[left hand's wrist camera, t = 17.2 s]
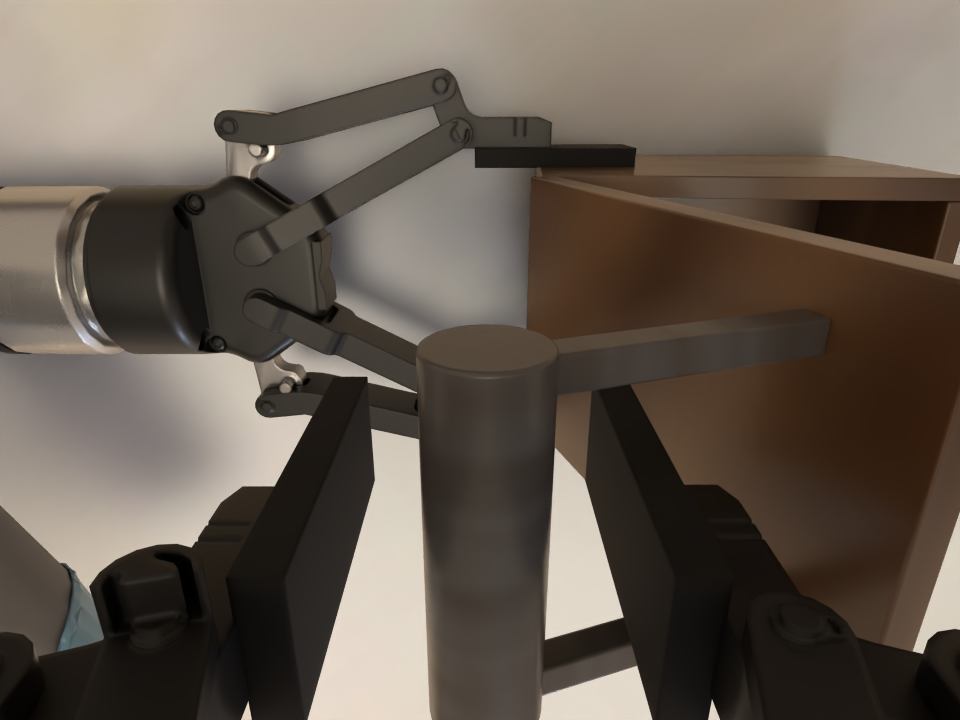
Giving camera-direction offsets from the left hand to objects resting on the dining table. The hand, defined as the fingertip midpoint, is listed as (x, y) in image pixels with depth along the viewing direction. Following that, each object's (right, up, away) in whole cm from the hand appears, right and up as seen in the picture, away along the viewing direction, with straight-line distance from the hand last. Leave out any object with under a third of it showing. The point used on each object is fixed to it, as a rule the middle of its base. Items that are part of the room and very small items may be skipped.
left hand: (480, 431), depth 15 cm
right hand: (+6, +6, +14) cm, 17 cm away
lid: (+5, +1, +3) cm, 6 cm away
